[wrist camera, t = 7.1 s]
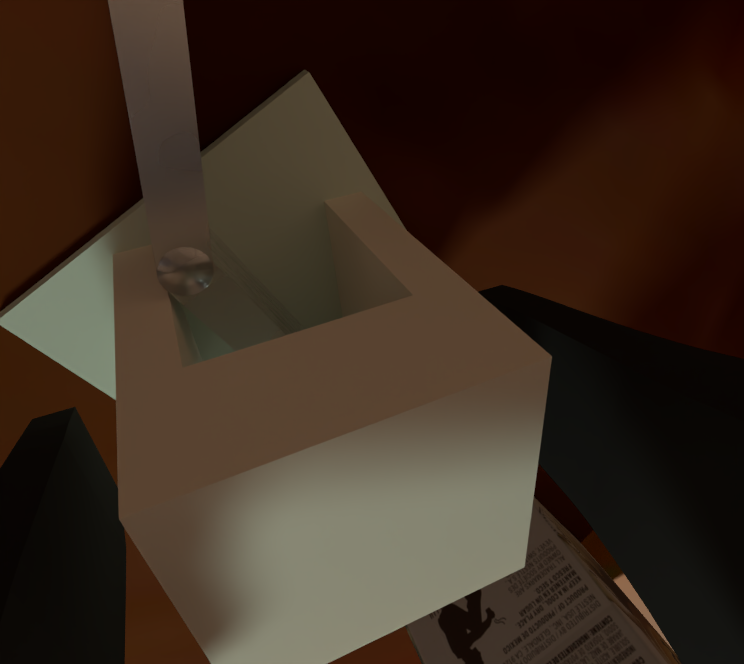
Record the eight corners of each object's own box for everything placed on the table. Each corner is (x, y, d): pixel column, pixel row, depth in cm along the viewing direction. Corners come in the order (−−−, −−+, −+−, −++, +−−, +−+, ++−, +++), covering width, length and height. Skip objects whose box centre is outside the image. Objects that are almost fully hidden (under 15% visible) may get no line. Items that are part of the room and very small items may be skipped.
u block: (381, 362, 13) (524, 567, 9) (188, 428, 12) (239, 706, 8) (361, 191, 11) (551, 356, 6) (112, 254, 10) (118, 519, 5)
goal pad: (245, 477, 14) (247, 485, 14) (-2, 313, 10) (-5, 322, 9) (455, 313, 14) (461, 319, 14) (304, 69, 9) (309, 71, 9)
